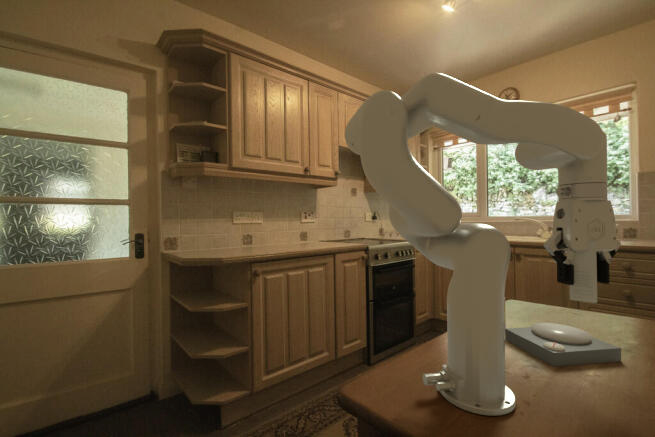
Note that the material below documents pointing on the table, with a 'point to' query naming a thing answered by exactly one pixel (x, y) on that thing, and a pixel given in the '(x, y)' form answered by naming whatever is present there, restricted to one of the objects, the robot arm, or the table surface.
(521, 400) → the table surface
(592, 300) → the skincare box
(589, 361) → the kitchen scale
